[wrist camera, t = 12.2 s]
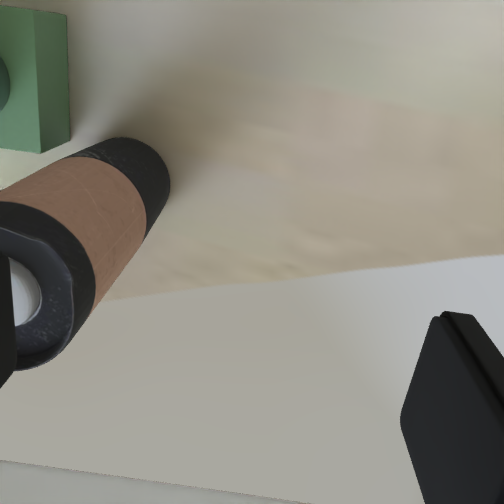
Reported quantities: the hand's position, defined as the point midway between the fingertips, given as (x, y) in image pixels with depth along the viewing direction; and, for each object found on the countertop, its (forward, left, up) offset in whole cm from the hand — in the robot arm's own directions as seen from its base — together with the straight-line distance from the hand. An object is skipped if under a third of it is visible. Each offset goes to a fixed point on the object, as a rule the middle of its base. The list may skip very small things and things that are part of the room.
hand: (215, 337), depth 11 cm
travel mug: (+8, -8, -28) cm, 31 cm away
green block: (+5, -19, -28) cm, 34 cm away
